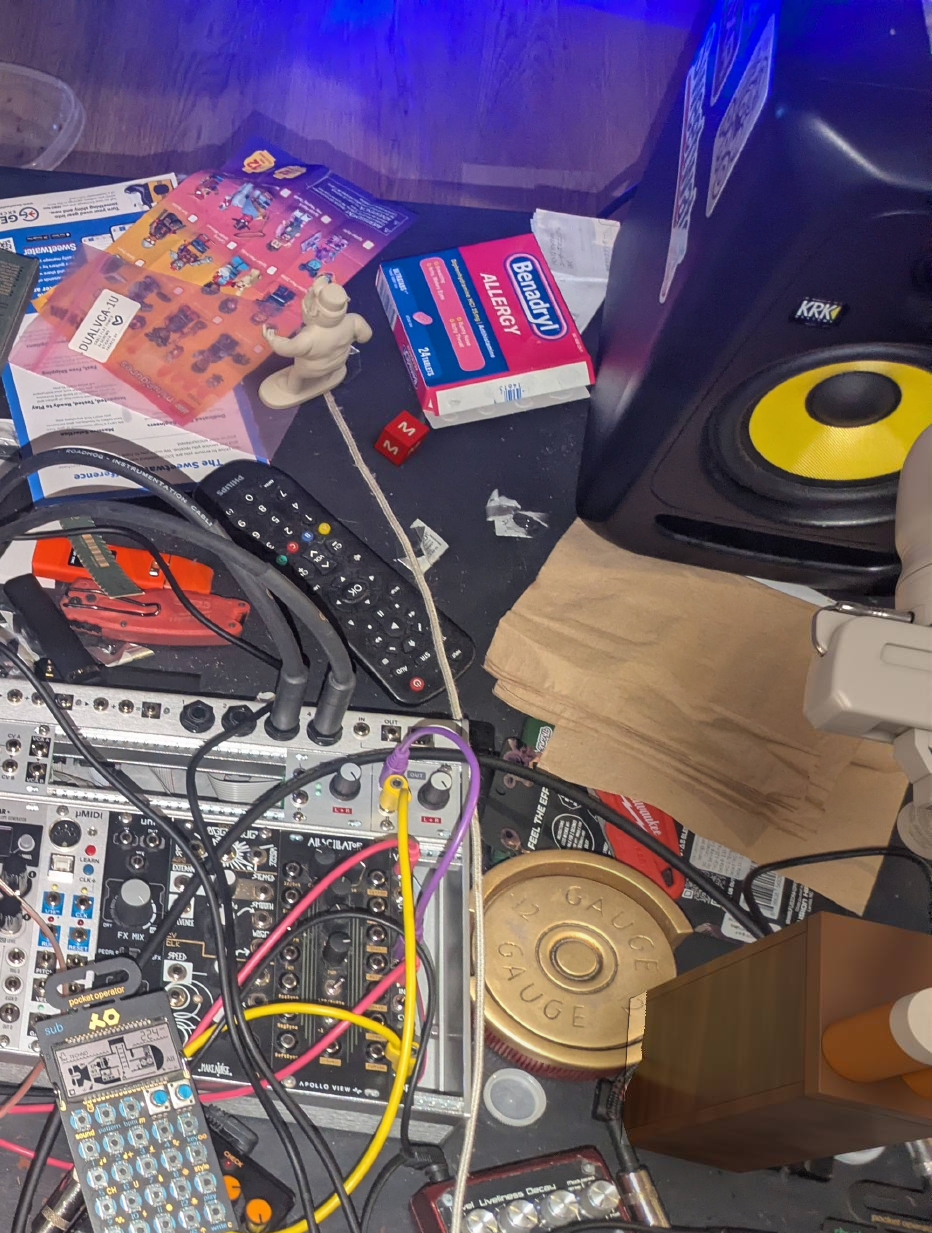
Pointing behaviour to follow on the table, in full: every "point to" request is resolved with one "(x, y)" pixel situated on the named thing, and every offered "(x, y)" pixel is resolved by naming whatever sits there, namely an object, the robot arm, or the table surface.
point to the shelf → (861, 1003)
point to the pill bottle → (916, 829)
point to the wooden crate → (742, 1068)
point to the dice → (401, 438)
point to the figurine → (314, 348)
